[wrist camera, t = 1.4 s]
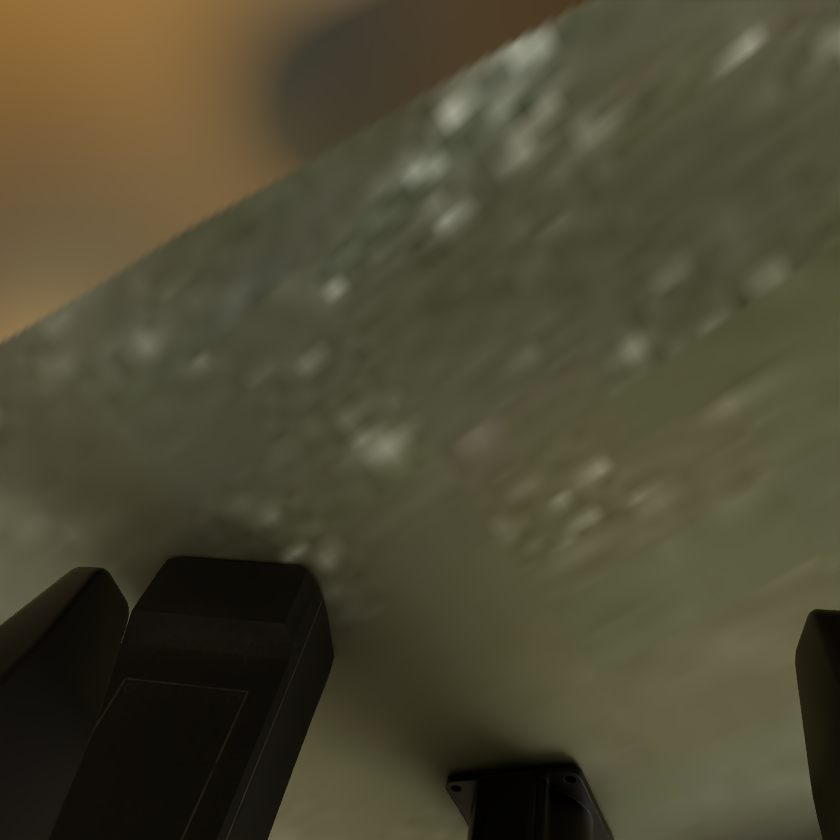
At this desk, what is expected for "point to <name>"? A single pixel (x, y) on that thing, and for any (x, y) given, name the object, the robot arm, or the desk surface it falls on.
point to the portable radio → (203, 706)
